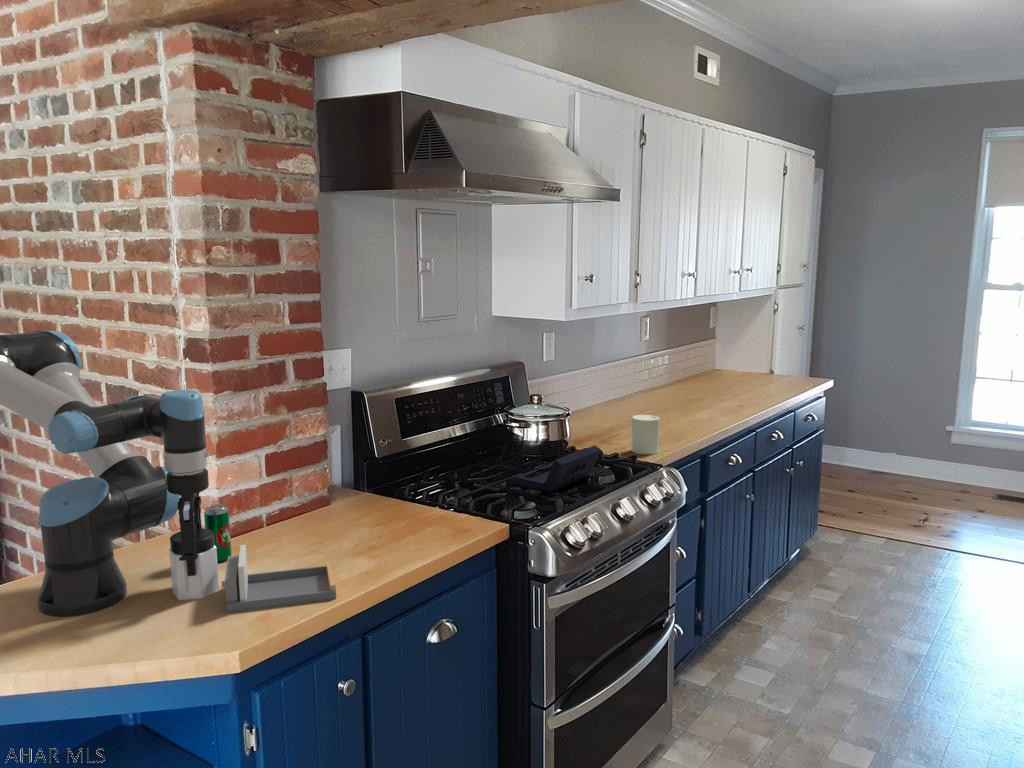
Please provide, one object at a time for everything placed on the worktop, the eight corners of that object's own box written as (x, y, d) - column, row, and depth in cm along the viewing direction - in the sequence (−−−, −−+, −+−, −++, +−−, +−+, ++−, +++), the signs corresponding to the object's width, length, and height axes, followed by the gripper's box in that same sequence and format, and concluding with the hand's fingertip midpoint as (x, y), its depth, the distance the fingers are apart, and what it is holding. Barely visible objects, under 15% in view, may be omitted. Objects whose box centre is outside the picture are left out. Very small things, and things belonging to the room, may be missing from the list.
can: (661, 454, 261) (662, 419, 259) (633, 454, 261) (634, 419, 259) (656, 447, 270) (657, 413, 268) (629, 447, 270) (630, 413, 268)
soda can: (206, 557, 175) (203, 505, 173) (230, 553, 177) (227, 502, 175) (207, 565, 171) (204, 512, 169) (232, 561, 173) (229, 509, 170)
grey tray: (226, 615, 147) (224, 581, 146) (230, 587, 160) (228, 555, 158) (336, 602, 153) (335, 568, 152) (331, 575, 165) (330, 544, 164)
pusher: (220, 609, 148) (218, 569, 146) (224, 584, 158) (221, 546, 157) (246, 606, 149) (243, 566, 148) (248, 582, 160) (245, 544, 158)
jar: (224, 582, 162) (220, 527, 160) (214, 599, 154) (210, 541, 152) (178, 584, 161) (174, 528, 159) (166, 602, 153) (161, 543, 151)
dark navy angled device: (555, 469, 245) (556, 438, 243) (600, 479, 235) (601, 446, 233) (514, 485, 228) (514, 451, 227) (561, 496, 219) (561, 461, 217)
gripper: (203, 483, 145) (211, 600, 149) (211, 455, 164) (218, 559, 168) (159, 487, 143) (168, 605, 147) (172, 458, 162) (180, 563, 166)
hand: (195, 581), depth 158 cm, fingers closed on jar, 7 cm apart
